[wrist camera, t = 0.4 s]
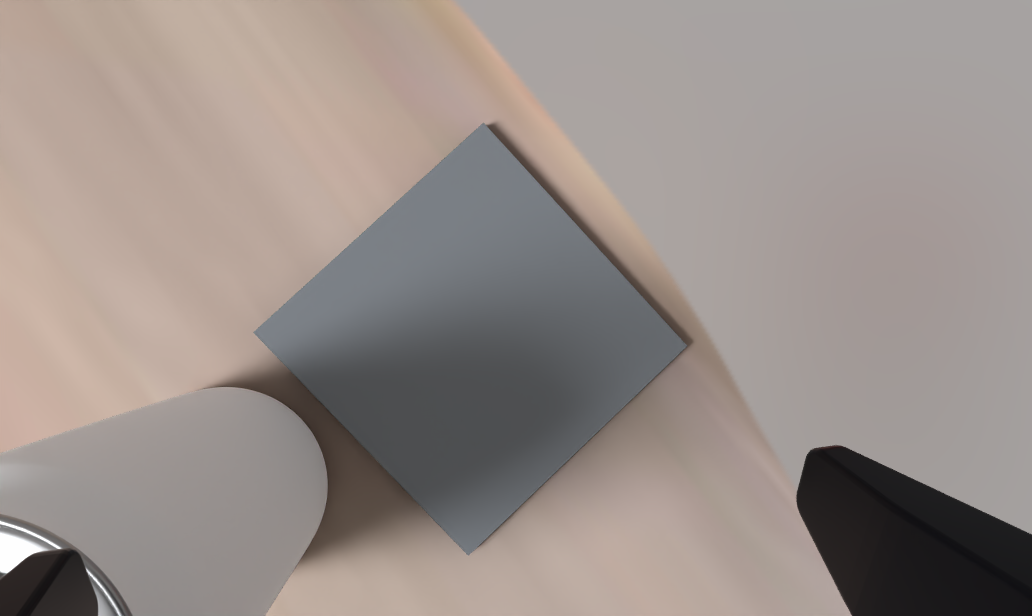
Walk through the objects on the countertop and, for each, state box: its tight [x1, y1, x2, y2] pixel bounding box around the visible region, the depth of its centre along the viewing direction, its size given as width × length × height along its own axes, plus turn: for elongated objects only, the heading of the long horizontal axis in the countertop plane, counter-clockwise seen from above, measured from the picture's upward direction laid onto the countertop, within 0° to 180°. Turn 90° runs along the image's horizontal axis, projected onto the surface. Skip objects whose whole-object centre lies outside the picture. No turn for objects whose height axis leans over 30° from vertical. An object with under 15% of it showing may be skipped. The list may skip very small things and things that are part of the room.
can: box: [0, 387, 328, 616], centre depth 16 cm, size 6×6×12 cm
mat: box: [253, 123, 687, 556], centre depth 22 cm, size 10×10×1 cm
